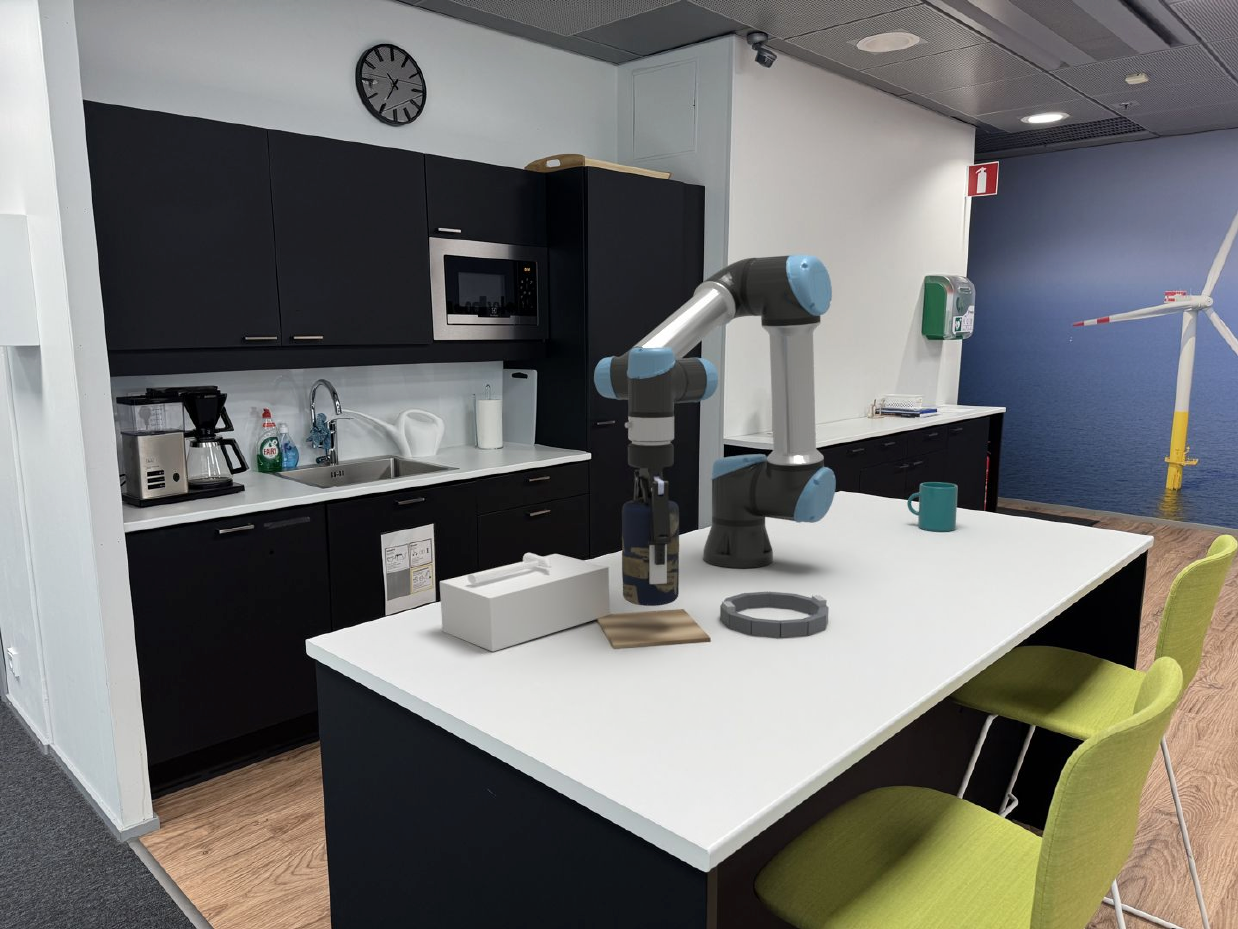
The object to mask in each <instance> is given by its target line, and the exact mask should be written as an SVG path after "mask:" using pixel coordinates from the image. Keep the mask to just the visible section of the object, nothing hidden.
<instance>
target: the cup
mask: <svg viewBox="0 0 1238 929" xmlns="http://www.w3.org/2000/svg"><path fill="white" fill-rule="evenodd" d="M958 487H959V486H958V485H957V484H955V483H950V482H938V481H933V482H932V481H930V482H929V481H928V482H922V483H920V484H919V492H915V493H912V494H911V495H910V496H909V498H908V499H907V503H906V504H907V508H908V511H909V512H911V514H913V515H915V516H917V518H918V519H917V520H918V523H917V525H918V528H920V529H921V528H922V529H921V530H924V531H928V532H942V533H943V532H951V531H954V530H955V529H956V527H957V526H956V525H957V510H958V509H957V508H958V507H957V506H958V491H959V489H958ZM915 498H918V511H917V510H915V509H914V507H913V505H912V501H913V499H915Z"/></svg>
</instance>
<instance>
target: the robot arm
mask: <svg viewBox="0 0 1238 929" xmlns="http://www.w3.org/2000/svg"><path fill="white" fill-rule="evenodd" d="M832 293H833V289H832V281H831V278H830V274H829V271H828V269H827V267H826V266H825V264H824V262H822V260H820V259H819V258H818V257H816V256H815V255H812V254H811V255H810V254H809V255H808V254H795V253H794V254H791V255H780V256H765V257H763V256H762V257H748V258H745V259H741V260H740V259H739V260H737V261H736V262H733V263H730V264H728V265H727V266H725V267H723V268H721V269H720V270H718V271H717V272H715V273H713V274H712V275H710V276H709V277H707V279H705V280H704V281H703V282H701V283H700V284H699V285H698V286H697V287H696V289H695V290H694V292H693V296H692V297H691V298H690V299H689V300H688V301H687V302H685V303H684V304H683V305H681V306H680V308H678V309H677V310H676V311H674V312H673V313H672V314H671V315H669V316H668V317H667V318H666V319H665V320H664V321H663V322H661V323H660V324H659V325H658V326H656V327H655V328H654V329H653V330H652V331H651V332H649V333H648V334H647V335H646V336H645V337H644V338H642V339H641V340H639V342H637V343H636V344H634V346H632V347H631V348H630V349H629V350H628V351H627V352H625V353H624V354H623V355H621V356H615V355H613V356H610V357H604V358H602V359H601V360H599V362H598V363H597V365H596V367H595V369H594V373H593V374H594V376H593V382H594V385H595V388H596V390H597V392H598V393H599V395H601V396H602V397H604V398H607V399H613V400H614V399H616V400H618V401H622V400H627V401H628V403H627V404H628V411H627V414H628V415H627V417H628V419H627V420H628V421H627V422H625V423H624V427H625V429H628V430H627V431H628V433H627V436H628V437H627V438H628V440H629V441H631V442H629V444H628V445H627V464H628V465H629V466H630V467H632V468H636V469H635V470H634V472H633V474H634V489H633V500H637V499H638V498H641V497H643V498H644V499H643V500H644V504H645V505H647V506H649V509H651V508H652V509H653V514H651V513H650V533H651V540H649V541H648V542H647V545H650V559H649V583H650V584H663V583H667V544H668V543H671V532H670V515H669V500H670V499H669V489H670V488H669V485H670V483H669V480H666V478H665V477H663V469H664V468H669V467H672V466H673V465H674V462H675V461H674V459H675V452H674V449H675V448H674V446H675V445H673V443H672V441H673V440H674V439H675V412H674V410H675V408H674V407H675V404H680V403H681V404H683V403H699V402H702V401H706V400H708V399H709V398H711V397H712V396H713V395H715V393H716V390H717V388H718V385H719V376H718V371H717V369H716V367H715V366H714V364H713V363H712V362H711V361H709V360H708V359H706V358H702V357H701V358H700V357H689V358H687V357H686V358H683V357H685V356H686V355H687V354H688V353H690V351H691V350H692V349H694V348H695V347H696V346H697V345H698V344H699V343H700V342H701V341H703V340H704V339H705V338H706V337H707V336H708V335H709V334H711V332H713V331H714V330H715V329H716V328H717V327H721V326H722V327H723V326H725V325H728V324H729V323H731V322H732V320H734V319H737V318H742V317H761V318H760V321H761V328H763V329H764V330H765V331H766V333H768V335H769V357H770V358H769V360H770V382H771V383H770V386H771V387H770V388H771V389H770V390H771V413H772V416H771V419H772V440H773V441H772V442H773V443H772V444H773V450H772V451H771V452H770V453H769V454H768V455H766V454H761V453H758V454H755V453H754V454H742V455H741V454H740V455H735V456H734V455H733V456H726V457H721V458H718V459H716V460H715V461H714V462H713V465H712V472H711V473H712V474H711V479H710V480H711V525H710V530H709V533H708V535H707V537H706V538H707V539H706V541H705V544H704V548H703V560H704V562H706V563H708V564H710V565H713V566H718V567H723V568H724V567H725V568H732V569H733V568H735V569H739V568H740V569H741V568H742V569H743V568H744V569H745V568H748V569H749V568H750V569H752V568H760V567H764V566H767V565H770V564H771V563H773V560H774V559H773V558H774V556H773V555H774V552H773V551H774V549H773V547H772V543H771V540H770V537H769V534H768V531H767V527H766V518H771V519H777V520H785V521H789V522H790V521H791V522H795V523H799V524H800V523H809V524H811V523H813V524H815V523H818V522H819V521H821V520H822V519H823V518H824V517H825V516H826V515H827V513H828V512H829V510H830V509H831V506H832V504H833V501H834V498H835V494H836V484H837V482H836V476H835V472H834V471H833V469H831V468H829V467H828V466H825V464H824V463H825V462H824V460H825V458H824V455H823V454H822V453H821V452H820V451H819V450H818V449H817V444H816V442H817V441H816V440H817V439H816V435H817V434H816V405H815V403H816V402H815V401H816V400H815V399H816V397H815V366H814V364H815V362H814V361H815V359H814V358H815V357H814V331H815V330H816V329H817V328H818V326H820V325H821V316H822V315H824V314H826V313H827V312H828V311H829V309H830V307H831V301H832V298H833V295H832ZM659 535H663V536H659Z"/></svg>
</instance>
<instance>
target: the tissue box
mask: <svg viewBox="0 0 1238 929" xmlns="http://www.w3.org/2000/svg"><path fill="white" fill-rule="evenodd" d="M609 569H610V567H609V566H608V565H607V566H606V565H602V564H598V563H594V562H591V561H586V560H582V559H578V558H574V557H570V556H566V555H562V554H558V553H553V554H548V555H545V556H541V555H538V554H536V553H532V552H527V553H524V555H523V556H522V561H519V562H515V563H512V564H507V565H502V566H498V567H495V568H494V567H493V568H490V569H486V570H482V571H478V572H477V571H476V572H474V573H470V574H469V573H468V574H465V575H462V576H457V577H454V578H448V579H444V580H440V581H439V592H440V608H441V609H440V610H441V612H440V613H441V627H442V628H441V630H442V632H444V633H446V634H449V635H451V636H454V637H456V638H458V639H461V640H462V641H466V642H468V643H471V644H473V645H475V646H478V647H481V648H483V649H486V650H487V651H490V652H495V651H500V650H502V649H505V648H509V647H512V646H516V645H517V644H521V643H524V642H528V641H530V640H531V641H532V640H533V639H536V638H537V639H538V638H540V637H544V636H546V635H550V634H553V633H556V632H559V631H562V630H566V629H569V628H573V627H574V626H579V625H582V624H585V623H587V622H592V621H594V620H596V619H598V618H601V617H604V616H607V615H610V614H611V612H610V611H611V606H610V603H611V602H610V577H609V576H610V574H609V571H610V570H609Z"/></svg>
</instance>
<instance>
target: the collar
mask: <svg viewBox="0 0 1238 929" xmlns="http://www.w3.org/2000/svg"><path fill="white" fill-rule="evenodd" d="M762 608H774V609H786V610H792V611H793V610H794V611H797V612H800V613H805V614H807V613H808V615H810V616H807V617H803V618H797V619H796V618H795V619H781V620H779V619H777V620H776V619H766V618H758V617H752V616H749V615H745V614H742V613H739V612H741V611H742V612H743V611H745V610H748V609H750V610H751V609H762ZM719 612H720V613H719V619H720V621H721V622H722V623H723V624H724V625H725V627H727V628H728V629H730V630H732V631H733V630H734V631H736V632H740V633H742V634H745V635H749V636H756V637H766V638H774V639H787V638H800V637H801V638H802V637H809V636H812V635H815V634H817V633H820V632H824V631H825V630H826V629H827V625H828V624H829V606H828V605H827V599H826V598H824V597H823V596H821V595H820V594H819V595H811V597H810V596H807V595H802V594H798V593H792V592H790V593H789V592H778V591H755V592H744V593H740V594H736V595H733V596H730V597H726V598H724V600H723V601H721V604H720V608H719Z"/></svg>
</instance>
